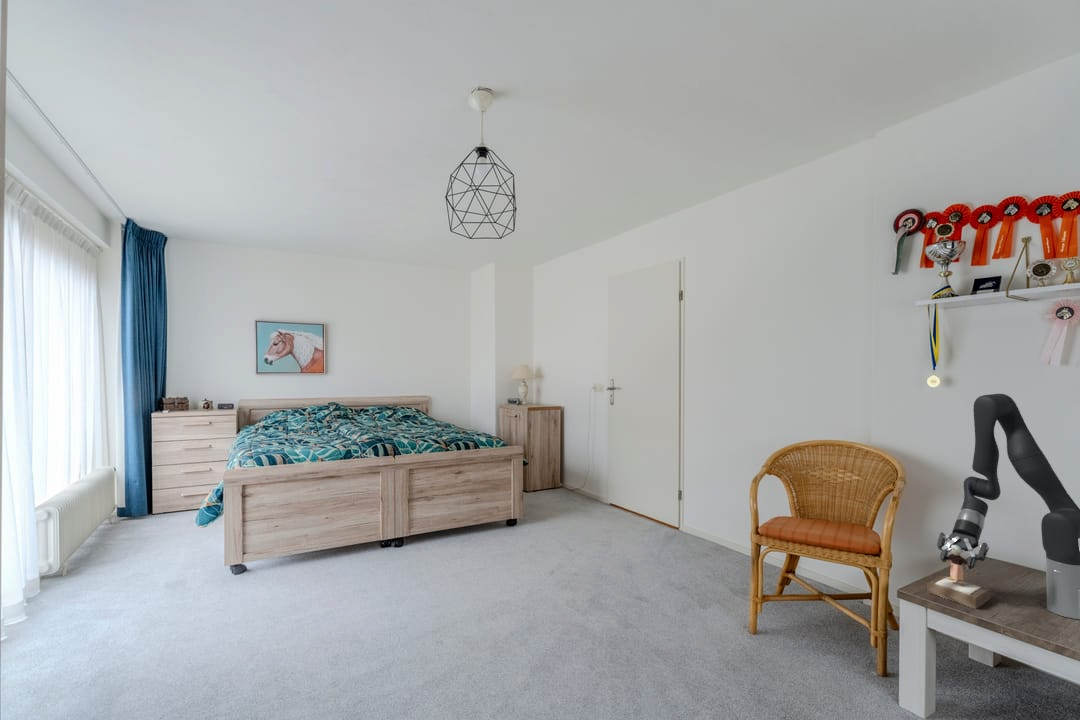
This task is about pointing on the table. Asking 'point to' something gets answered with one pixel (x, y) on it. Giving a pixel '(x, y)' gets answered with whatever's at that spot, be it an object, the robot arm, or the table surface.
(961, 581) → the grandmother figurine
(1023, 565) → the table surface
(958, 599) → the stand
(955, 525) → the robot arm
